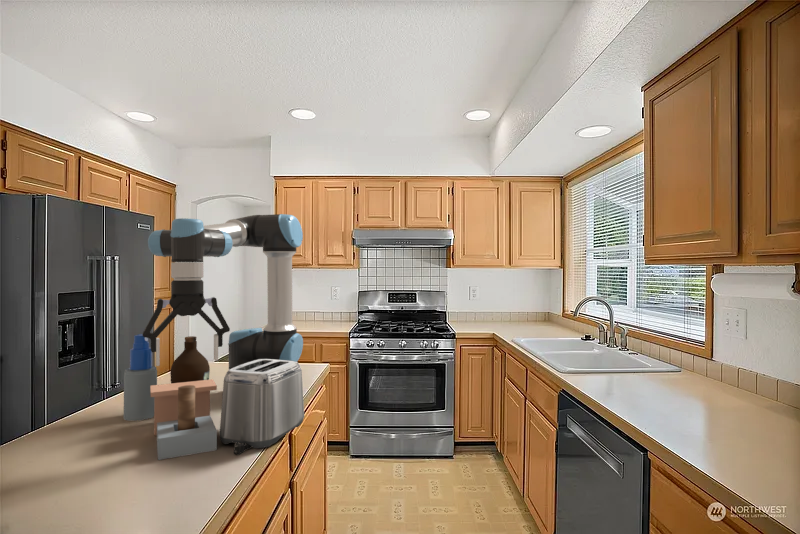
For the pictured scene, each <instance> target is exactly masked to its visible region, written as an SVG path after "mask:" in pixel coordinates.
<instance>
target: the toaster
mask: <svg viewBox="0 0 800 534" xmlns="http://www.w3.org/2000/svg"><path fill="white" fill-rule="evenodd" d="M222 386H223V387H222V400H221V411H220V421H219V423H220V424H219V438H220V439H219V440H220V442H221V443H222V444H225V445H228V444H231V443H235V444H234V449H233V454H235V455H238V456H239V455H241V453H244V452H245V451H246V450H249V449H251V448H254V449H262V448H263V449H264V448H270V447H271V446H272V445H273V444H275V443H277V442H278V441H279V440H280V439H281V438H282V437H284V436H285V435H287V434H288V433H289V432H291V431H293V430H295V428H298V427H301V425H302V424H303V423H304V419H305V403H304V388H303V387H304V386H303V370H302V367H301V364H300V363H299V362H298V361H297V362H295V361H288V360H276V359H258V360H254V361H251V362H248V363H244V364H242V365H239V366H236V367H234V368H232V369H229V368H228V370H227V371H226V373H225V375H224V379H223V385H222Z"/></svg>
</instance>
